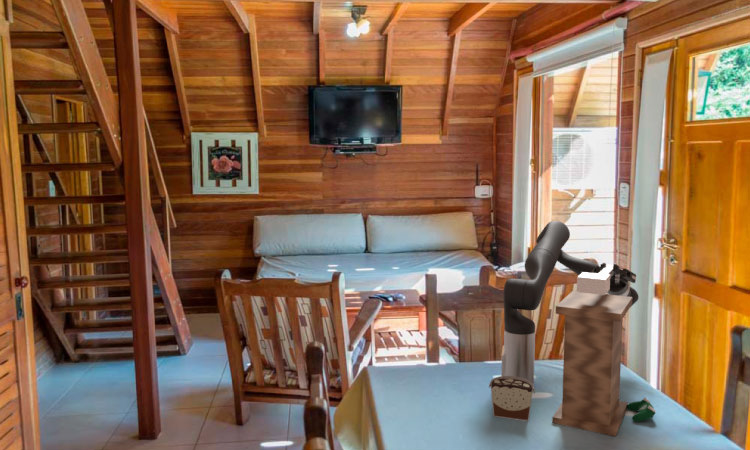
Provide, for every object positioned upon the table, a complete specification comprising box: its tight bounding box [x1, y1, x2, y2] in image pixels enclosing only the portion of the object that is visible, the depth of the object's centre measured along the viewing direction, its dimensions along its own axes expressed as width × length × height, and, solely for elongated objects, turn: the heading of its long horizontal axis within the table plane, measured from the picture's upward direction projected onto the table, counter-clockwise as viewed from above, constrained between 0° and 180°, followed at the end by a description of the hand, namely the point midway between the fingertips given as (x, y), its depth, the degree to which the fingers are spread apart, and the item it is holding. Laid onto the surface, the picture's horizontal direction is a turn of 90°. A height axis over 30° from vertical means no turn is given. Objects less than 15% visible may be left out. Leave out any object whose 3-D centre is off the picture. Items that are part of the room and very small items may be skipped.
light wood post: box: [576, 264, 614, 295], centre depth 170 cm, size 7×32×4 cm, turn 150°
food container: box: [488, 376, 536, 422], centre depth 168 cm, size 12×6×10 cm, turn 71°
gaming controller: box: [627, 397, 656, 423], centre depth 167 cm, size 9×4×6 cm
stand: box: [551, 290, 633, 437], centre depth 166 cm, size 16×20×32 cm
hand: (609, 266), depth 180 cm, fingers closed on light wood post, 2 cm apart
